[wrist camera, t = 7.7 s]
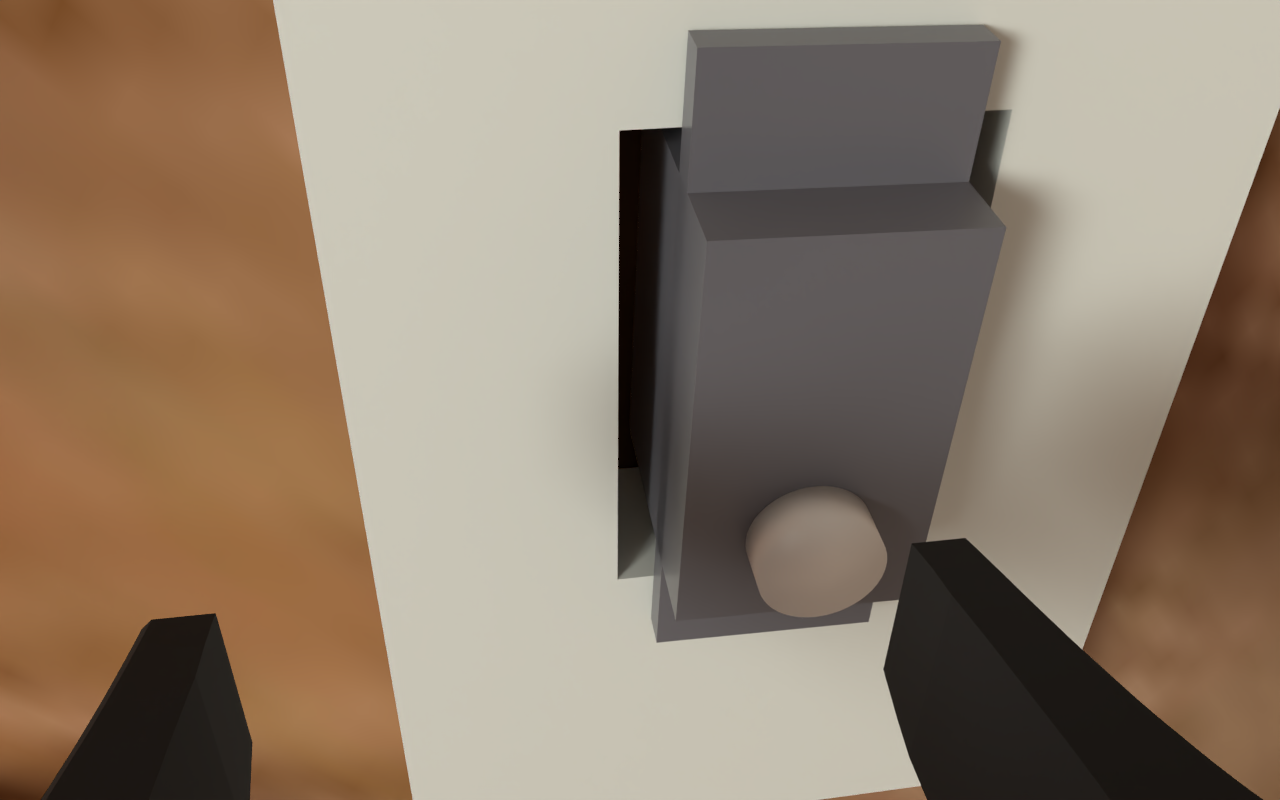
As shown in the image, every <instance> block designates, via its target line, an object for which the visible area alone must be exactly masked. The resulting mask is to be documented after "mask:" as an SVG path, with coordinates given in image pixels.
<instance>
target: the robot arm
mask: <svg viewBox="0 0 1280 800" xmlns="http://www.w3.org/2000/svg"><path fill="white" fill-rule="evenodd" d="M883 671H884V674H885V678H886V681H887V685H888V688H889V692H890V695H891V699H892V702H893V706H894V709H895V713H896V716H897V720H898V723H899V726H900V729H901V733H902V736H903V739H904V742H905V745H906V749H907V752H908V755H909V758H910V760H911V763H912V765H913V768H914V770H915V772H916V775H917V777H918V779H919V782H920V784H921V786H922V789H923V791H924V793H925V796H926V798H927V800H1263V799H1261V798H1260V797H1259V796H1257V795H1256V794H1254V793H1253V792H1252V791H1250V790H1249V789H1248V788H1246V787H1245V786H1243V785H1242V784H1241V783H1239V782H1238V781H1237V780H1236V779H1234V778H1233V777H1232V776H1230V775H1229V774H1228V773H1226V772H1225V771H1224V770H1222V769H1221V768H1220V767H1219V766H1217V765H1216V764H1215V763H1213V762H1212V761H1211V760H1210V759H1208V758H1207V757H1206V756H1205V755H1204V754H1202V753H1201V752H1200V751H1199V750H1197V749H1196V748H1195V747H1194V746H1193V745H1191V744H1190V743H1189V742H1188V741H1186V740H1185V739H1184V738H1183V737H1182V736H1180V735H1179V734H1178V733H1177V732H1175V731H1174V730H1173V729H1172V728H1171V727H1169V726H1168V725H1167V724H1166V723H1164V722H1163V721H1162V720H1161V719H1160V718H1158V717H1157V716H1156V715H1155V714H1154V713H1153V712H1151V711H1150V710H1149V709H1148V708H1147V707H1146V706H1144V705H1143V704H1142V703H1141V702H1140V701H1139V700H1137V699H1136V698H1135V697H1134V696H1133V695H1132V694H1131V693H1130V692H1129V691H1127V690H1126V689H1125V688H1124V687H1123V686H1122V685H1121V684H1120V683H1119V682H1117V681H1116V680H1115V679H1114V678H1113V677H1112V676H1111V675H1110V674H1109V673H1107V672H1106V671H1105V670H1104V669H1103V668H1102V667H1101V666H1100V665H1099V664H1098V663H1096V662H1095V661H1094V660H1093V659H1092V658H1091V657H1090V656H1089V655H1088V654H1086V653H1085V652H1084V651H1083V650H1082V649H1081V648H1080V647H1079V646H1078V645H1077V644H1076V643H1075V642H1074V641H1073V640H1071V639H1070V638H1069V637H1068V636H1067V635H1066V634H1065V633H1064V632H1063V631H1062V630H1061V629H1060V628H1059V627H1058V626H1057V625H1056V624H1055V623H1054V622H1052V621H1051V620H1050V619H1049V618H1048V617H1047V616H1046V615H1045V614H1044V613H1043V612H1042V611H1041V610H1040V609H1039V608H1038V607H1037V606H1036V605H1035V604H1034V603H1033V602H1032V601H1031V600H1030V599H1029V598H1027V597H1026V596H1025V595H1024V594H1023V593H1022V592H1021V591H1020V590H1019V589H1018V588H1017V587H1016V586H1015V585H1014V584H1013V583H1012V582H1011V581H1010V580H1009V579H1008V578H1007V577H1006V576H1005V575H1004V574H1003V573H1002V572H1001V571H1000V570H999V569H998V568H996V567H995V566H994V565H993V564H992V563H991V562H990V561H989V560H988V559H987V558H986V557H985V556H984V555H983V554H982V553H981V552H980V551H979V550H978V549H977V548H976V547H975V546H974V545H972V544H971V543H970V542H969V541H968V540H967V539H966V538H959V539H949V540H939V541H930V542H920V543H912V544H911V548H910V553H909V557H908V562H907V566H906V570H905V575H904V579H903V584H902V588H901V593H900V597H899V602H898V606H897V610H896V615H895V619H894V624H893V628H892V633H891V637H890V642H889V646H888V650H887V655H886V659H885V664H884V668H883ZM251 760H252V740H251V737H250V733H249V730H248V726H247V723H246V719H245V715H244V712H243V708H242V705H241V701H240V698H239V694H238V691H237V687H236V684H235V680H234V677H233V673H232V670H231V666H230V663H229V659H228V656H227V652H226V648H225V645H224V641H223V638H222V634H221V631H220V627H219V624H218V620H217V617H216V613H214V614H204V615H194V616H184V617H174V618H165V619H155V620H151V621H150V622H149V623H148V624H147V625H146V626H145V627H144V628H143V629H142V630H141V632H140V634H139V635H138V637H137V639H136V641H135V643H134V645H133V647H132V648H131V650H130V652H129V654H128V656H127V658H126V659H125V661H124V663H123V665H122V667H121V668H120V670H119V672H118V674H117V676H116V677H115V679H114V681H113V683H112V685H111V686H110V688H109V690H108V692H107V693H106V695H105V697H104V698H103V700H102V702H101V704H100V705H99V707H98V709H97V710H96V712H95V714H94V715H93V717H92V719H91V720H90V722H89V724H88V725H87V727H86V729H85V730H84V732H83V734H82V735H81V737H80V739H79V740H78V742H77V744H76V745H75V747H74V749H73V750H72V752H71V753H70V755H69V757H68V758H67V760H66V761H65V763H64V764H63V766H62V767H61V769H60V771H59V772H58V774H57V775H56V777H55V778H54V780H53V782H52V783H51V785H50V786H49V788H48V789H47V791H46V793H45V794H44V796H43V797H42V799H41V800H250V783H251Z"/></svg>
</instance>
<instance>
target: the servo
mask: <svg viewBox="0 0 1280 800" xmlns="http://www.w3.org/2000/svg"><path fill="white" fill-rule="evenodd" d="M1000 44H1001V40H999V39H998V38H997V37H996V36H995V35H994V34H993V33H992V32H991V31H990V30H988V29H987V28H986V27H985V26H984V25H938V26H887V27H836V28H785V29H735V30H688V41H687V57H686V73H685V88H684V104H683V120H682V127H675V128H657V129H641V154H640V178H639V202H638V227H637V251H636V276H635V300H634V325H633V349H632V373H631V398H630V422H629V430H630V434H631V438H632V443H633V447H634V451H635V455H636V459H637V463H638V467H639V471H640V476H641V480H642V484H643V488H644V492H645V496H646V500H647V504H648V509H649V513H650V517H651V521H652V525H653V529H654V533H655V538H656V547H655V563H654V579H653V595H652V610H651V620H652V625H653V629H654V634H655V638H656V643H659V642H669V641H679V640H689V639H700V638H710V637H720V636H730V635H740V634H751V633H761V632H771V631H781V630H791V629H802V628H812V627H822V626H832V625H842V624H853V623H863V622H869V618H870V614H871V609H872V605H873V602H882V601H893V600H899V597H900V593H901V588H902V584H903V579H904V575H905V570H906V566H907V562H908V557H909V553H910V548H911V544H912V543H920V542H926V540H927V536H928V532H929V528H930V524H931V520H932V516H933V513H934V509H935V505H936V501H937V497H938V493H939V489H940V485H941V481H942V477H943V473H944V470H945V466H946V462H947V458H948V454H949V450H950V446H951V442H952V438H953V434H954V430H955V427H956V423H957V419H958V415H959V411H960V407H961V403H962V399H963V395H964V391H965V387H966V384H967V380H968V376H969V372H970V368H971V364H972V360H973V356H974V352H975V348H976V345H977V341H978V337H979V333H980V329H981V325H982V321H983V317H984V313H985V309H986V305H987V302H988V298H989V294H990V290H991V286H992V282H993V278H994V274H995V270H996V266H997V262H998V259H999V255H1000V251H1001V247H1002V243H1003V239H1004V235H1005V231H1006V226H1005V225H1004V224H1003V222H1002V221H1001V220H1000V219H999V217H998V216H997V215H996V214H995V213H994V211H993V210H992V209H991V208H990V207H989V205H988V204H987V203H986V202H985V201H984V199H983V198H982V197H981V196H980V194H979V193H978V192H977V191H976V190H975V188H974V187H973V186H972V185H971V184H970V182H969V180H970V175H971V171H972V166H973V162H974V158H975V153H976V149H977V144H978V140H979V136H980V131H981V127H982V123H983V118H984V114H985V109H986V105H987V101H988V96H989V92H990V87H991V83H992V79H993V74H994V70H995V66H996V61H997V57H998V52H999V48H1000Z"/></svg>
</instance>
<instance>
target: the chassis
mask: <svg viewBox="0 0 1280 800" xmlns="http://www.w3.org/2000/svg"><path fill="white" fill-rule="evenodd" d="M273 2H274V8H275V14H276V19H277V25H278V31H279V37H280V42H281V48H282V54H283V59H284V65H285V71H286V77H287V82H288V88H289V94H290V99H291V105H292V111H293V117H294V122H295V128H296V134H297V140H298V145H299V151H300V157H301V162H302V168H303V174H304V180H305V185H306V191H307V197H308V203H309V208H310V214H311V220H312V225H313V231H314V237H315V243H316V248H317V254H318V260H319V265H320V271H321V277H322V283H323V288H324V294H325V300H326V306H327V311H328V317H329V323H330V328H331V334H332V340H333V346H334V351H335V357H336V363H337V368H338V374H339V380H340V386H341V391H342V397H343V403H344V409H345V414H346V420H347V426H348V431H349V437H350V443H351V449H352V454H353V460H354V466H355V472H356V477H357V483H358V489H359V494H360V500H361V506H362V512H363V517H364V523H365V529H366V534H367V540H368V546H369V552H370V557H371V563H372V569H373V575H374V580H375V586H376V592H377V597H378V603H379V609H380V615H381V620H382V626H383V632H384V638H385V643H386V649H387V655H388V660H389V666H390V672H391V678H392V683H393V689H394V695H395V700H396V706H397V712H398V718H399V723H400V729H401V735H402V741H403V746H404V752H405V758H406V763H407V769H408V775H409V781H410V786H411V792H412V798H413V800H819V799H827V798H834V797H842V796H849V795H856V794H864V793H871V792H879V791H886V790H894V789H901V788H908V787H916V786H921V784H920V782H919V779H918V777H917V775H916V772H915V770H914V768H913V765H912V763H911V760H910V758H909V755H908V752H907V749H906V745H905V742H904V739H903V736H902V733H901V729H900V726H899V723H898V720H897V716H896V713H895V709H894V706H893V702H892V699H891V695H890V692H889V688H888V685H887V681H886V678H885V674H884V671H883V668H884V664H885V659H886V655H887V650H888V646H889V642H890V637H891V633H892V628H893V624H894V619H895V615H896V610H897V606H898V602H899V600H893V601H882V602H873V605H872V609H871V614H870V618H869V622H863V623H853V624H842V625H832V626H822V627H812V628H802V629H791V630H781V631H771V632H761V633H751V634H740V635H730V636H720V637H710V638H700V639H689V640H679V641H669V642H659V643H656V638H655V634H654V629H653V625H652V620H651V610H652V595H653V579H654V563H655V547H656V538H655V533H654V529H653V525H652V521H651V517H650V513H649V509H648V504H647V500H646V496H645V492H644V488H643V484H642V480H641V476H640V471H639V467H634V468H623V469H618V333H619V131H620V130H638V129H657V128H675V127H682V120H683V104H684V88H685V73H686V57H687V41H688V30H735V29H785V28H836V27H887V26H938V25H984V26H985V27H986V28H987V29H988V30H990V31H991V32H992V33H993V34H994V35H995V36H996V37H997V38H998V39H999V40H1001V44H1000V48H999V52H998V57H997V61H996V66H995V70H994V74H993V79H992V83H991V87H990V92H989V96H988V101H987V105H986V109H985V114H984V118H983V123H982V127H981V131H980V136H979V140H978V144H977V149H976V153H975V158H974V162H973V166H972V171H971V175H970V180H969V182H970V184H971V185H972V186H973V187H974V188H975V190H976V191H977V192H978V193H979V194H980V196H981V197H982V198H983V199H984V201H985V202H986V203H987V204H988V205H989V207H990V208H991V209H992V210H993V211H994V213H995V214H996V215H997V216H998V217H999V219H1000V220H1001V221H1002V222H1003V224H1004V225H1005V226H1006V231H1005V235H1004V239H1003V243H1002V247H1001V251H1000V255H999V259H998V262H997V266H996V270H995V274H994V278H993V282H992V286H991V290H990V294H989V298H988V302H987V305H986V309H985V313H984V317H983V321H982V325H981V329H980V333H979V337H978V341H977V345H976V348H975V352H974V356H973V360H972V364H971V368H970V372H969V376H968V380H967V384H966V387H965V391H964V395H963V399H962V403H961V407H960V411H959V415H958V419H957V423H956V427H955V430H954V434H953V438H952V442H951V446H950V450H949V454H948V458H947V462H946V466H945V470H944V473H943V477H942V481H941V485H940V489H939V493H938V497H937V501H936V505H935V509H934V513H933V516H932V520H931V524H930V528H929V532H928V536H927V540H926V542H930V541H939V540H949V539H959V538H966V539H967V540H968V541H969V542H970V543H971V544H972V545H974V546H975V547H976V548H977V549H978V550H979V551H980V552H981V553H982V554H983V555H984V556H985V557H986V558H987V559H988V560H989V561H990V562H991V563H992V564H993V565H994V566H995V567H996V568H998V569H999V570H1000V571H1001V572H1002V573H1003V574H1004V575H1005V576H1006V577H1007V578H1008V579H1009V580H1010V581H1011V582H1012V583H1013V584H1014V585H1015V586H1016V587H1017V588H1018V589H1019V590H1020V591H1021V592H1022V593H1023V594H1024V595H1025V596H1026V597H1027V598H1029V599H1030V600H1031V601H1032V602H1033V603H1034V604H1035V605H1036V606H1037V607H1038V608H1039V609H1040V610H1041V611H1042V612H1043V613H1044V614H1045V615H1046V616H1047V617H1048V618H1049V619H1050V620H1051V621H1052V622H1054V623H1055V624H1056V625H1057V626H1058V627H1059V628H1060V629H1061V630H1062V631H1063V632H1064V633H1065V634H1066V635H1067V636H1068V637H1069V638H1070V639H1071V640H1073V641H1074V642H1075V643H1076V644H1077V645H1078V646H1079V647H1080V648H1081V649H1083V646H1084V643H1085V640H1086V638H1087V635H1088V632H1089V629H1090V627H1091V624H1092V621H1093V619H1094V616H1095V613H1096V610H1097V608H1098V605H1099V602H1100V599H1101V597H1102V594H1103V591H1104V588H1105V586H1106V583H1107V580H1108V577H1109V575H1110V572H1111V569H1112V566H1113V564H1114V561H1115V558H1116V555H1117V553H1118V550H1119V547H1120V544H1121V542H1122V539H1123V536H1124V533H1125V531H1126V528H1127V525H1128V523H1129V520H1130V517H1131V514H1132V512H1133V509H1134V506H1135V503H1136V501H1137V498H1138V495H1139V492H1140V490H1141V487H1142V484H1143V481H1144V479H1145V476H1146V473H1147V470H1148V468H1149V465H1150V462H1151V459H1152V457H1153V454H1154V451H1155V448H1156V446H1157V443H1158V440H1159V437H1160V435H1161V432H1162V429H1163V427H1164V424H1165V421H1166V418H1167V416H1168V413H1169V410H1170V407H1171V405H1172V402H1173V399H1174V396H1175V394H1176V391H1177V388H1178V385H1179V383H1180V380H1181V377H1182V374H1183V372H1184V369H1185V366H1186V363H1187V361H1188V358H1189V355H1190V352H1191V350H1192V347H1193V344H1194V342H1195V339H1196V336H1197V333H1198V331H1199V328H1200V325H1201V322H1202V320H1203V317H1204V314H1205V311H1206V309H1207V306H1208V303H1209V300H1210V298H1211V295H1212V292H1213V289H1214V287H1215V284H1216V281H1217V278H1218V276H1219V273H1220V270H1221V267H1222V265H1223V262H1224V259H1225V256H1226V254H1227V251H1228V248H1229V246H1230V243H1231V240H1232V237H1233V235H1234V232H1235V229H1236V226H1237V224H1238V221H1239V218H1240V215H1241V213H1242V210H1243V207H1244V204H1245V202H1246V199H1247V196H1248V193H1249V191H1250V188H1251V185H1252V182H1253V180H1254V177H1255V174H1256V171H1257V169H1258V166H1259V163H1260V160H1261V158H1262V155H1263V152H1264V150H1265V147H1266V144H1267V141H1268V139H1269V136H1270V133H1271V130H1272V128H1273V125H1274V122H1275V119H1276V117H1277V114H1278V111H1279V108H1280V0H273Z"/></svg>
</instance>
